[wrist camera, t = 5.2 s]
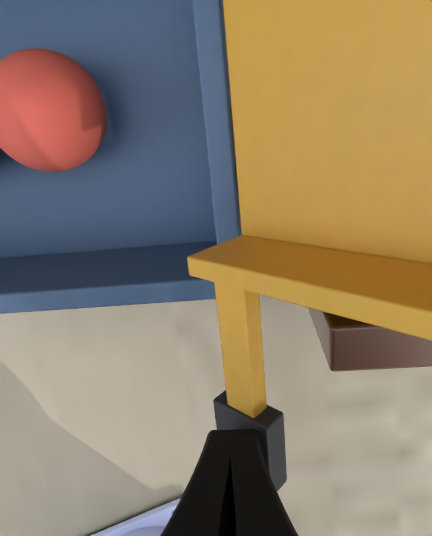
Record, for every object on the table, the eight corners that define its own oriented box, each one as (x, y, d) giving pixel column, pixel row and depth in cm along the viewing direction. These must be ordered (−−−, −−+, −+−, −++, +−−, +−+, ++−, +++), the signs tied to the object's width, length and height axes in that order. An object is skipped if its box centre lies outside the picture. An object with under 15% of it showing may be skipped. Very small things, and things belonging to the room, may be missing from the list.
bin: (215, -101, 12) (203, -207, 8) (243, 252, 16) (245, 297, 12) (-211, -36, 14) (-405, -102, 10) (-90, 278, 18) (-190, 327, 14)
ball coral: (103, 190, 13) (74, 183, 15) (137, 75, 12) (101, 90, 15) (-31, 146, 10) (-34, 148, 13) (6, 6, 10) (-6, 39, 13)
